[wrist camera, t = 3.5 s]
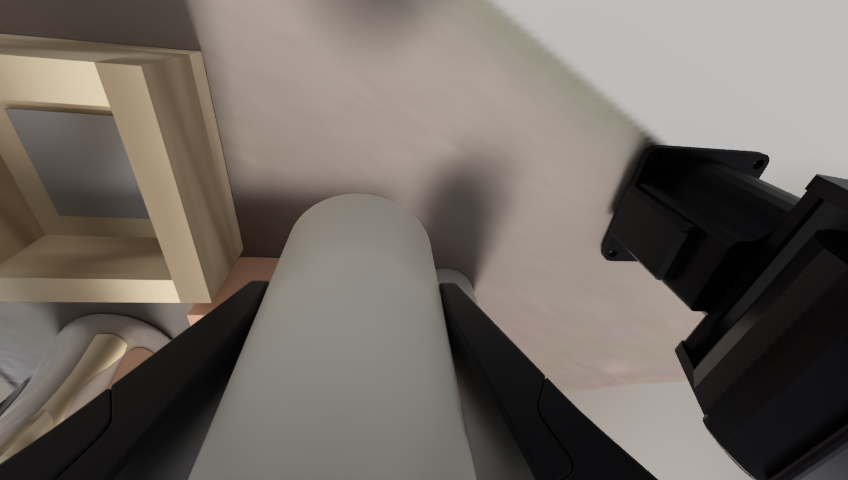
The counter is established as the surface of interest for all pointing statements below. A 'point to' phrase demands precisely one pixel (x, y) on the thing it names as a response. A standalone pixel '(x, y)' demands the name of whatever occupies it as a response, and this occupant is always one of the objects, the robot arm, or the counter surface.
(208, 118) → the frame
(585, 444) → the robot arm
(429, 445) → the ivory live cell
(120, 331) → the beer glass
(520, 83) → the counter surface
